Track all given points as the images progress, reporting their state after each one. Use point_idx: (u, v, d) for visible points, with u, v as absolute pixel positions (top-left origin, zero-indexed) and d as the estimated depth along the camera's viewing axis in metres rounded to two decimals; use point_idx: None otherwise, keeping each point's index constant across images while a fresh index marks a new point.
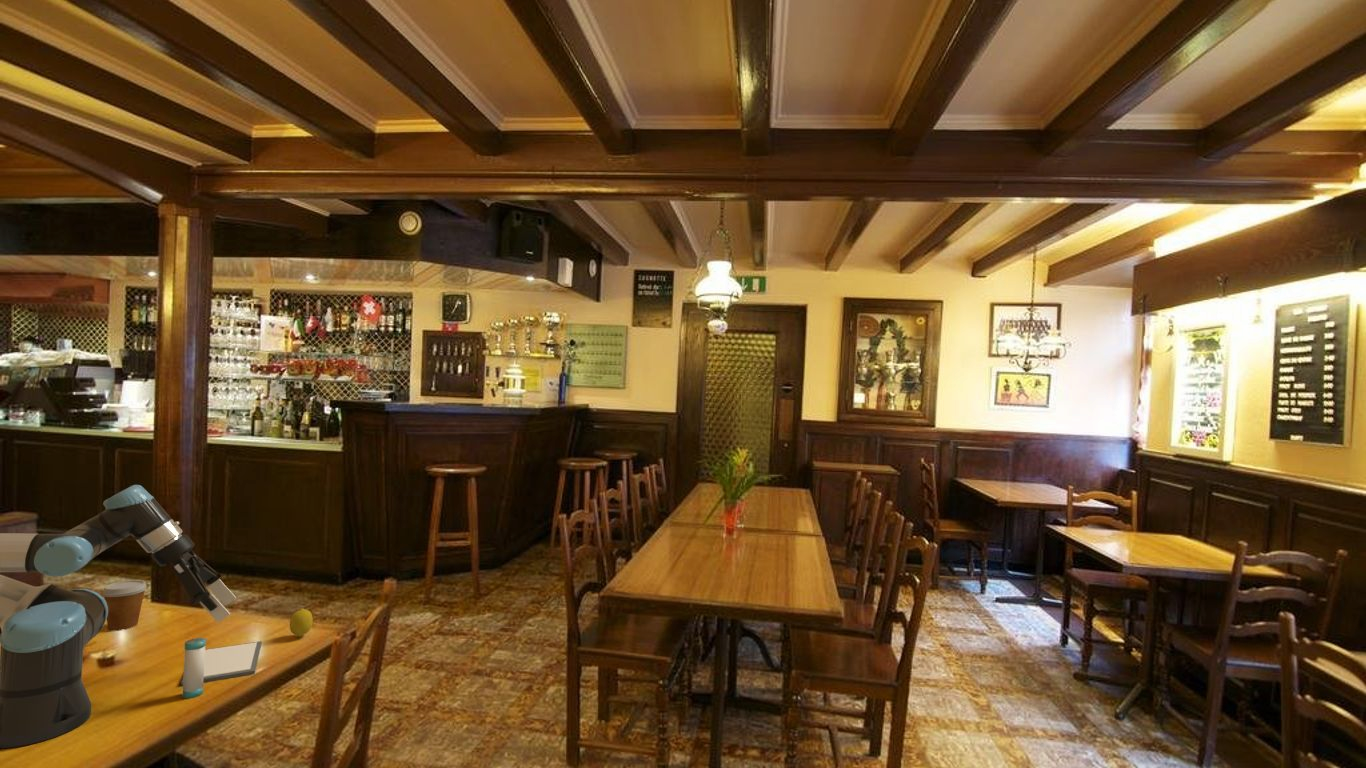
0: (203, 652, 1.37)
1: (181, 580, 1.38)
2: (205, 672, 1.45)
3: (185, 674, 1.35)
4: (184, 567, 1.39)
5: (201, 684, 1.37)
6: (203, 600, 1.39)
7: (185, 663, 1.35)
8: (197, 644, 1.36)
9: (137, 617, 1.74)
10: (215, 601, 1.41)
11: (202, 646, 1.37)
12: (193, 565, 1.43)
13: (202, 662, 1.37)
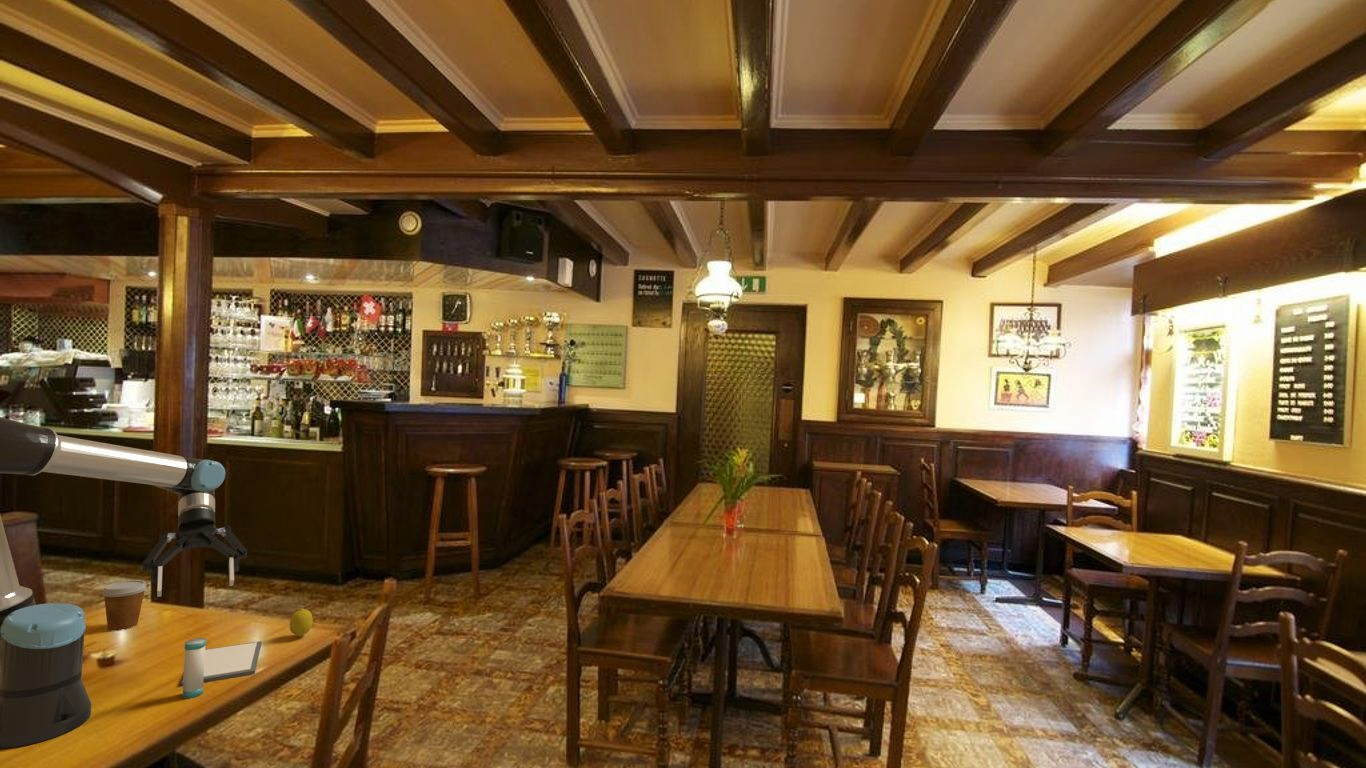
0: (203, 652, 1.37)
1: None
2: (205, 672, 1.45)
3: (185, 674, 1.35)
4: None
5: (201, 684, 1.37)
6: (239, 558, 1.54)
7: (185, 663, 1.35)
8: (197, 644, 1.36)
9: (137, 617, 1.74)
10: None
11: (202, 646, 1.37)
12: None
13: (202, 662, 1.37)
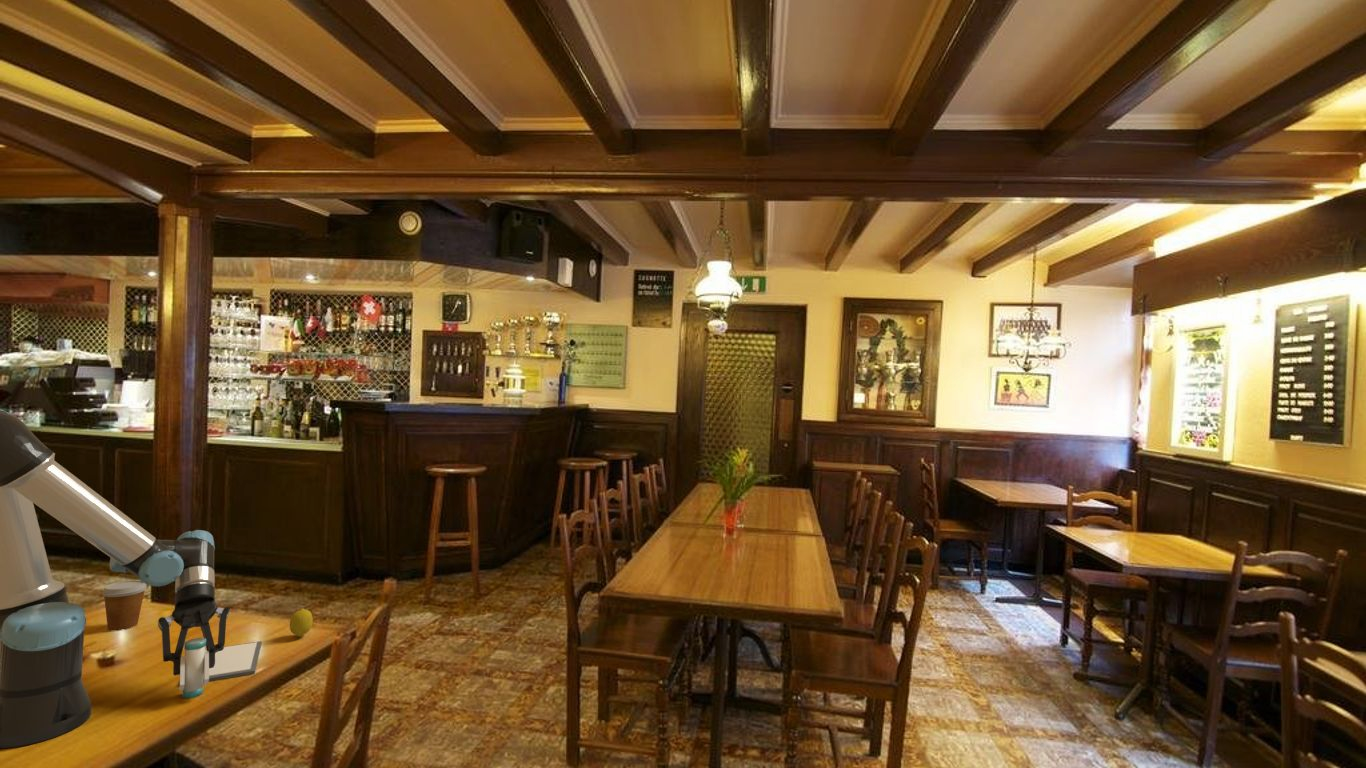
0: (203, 652, 1.37)
1: (225, 621, 1.44)
2: None
3: (185, 674, 1.35)
4: None
5: (201, 684, 1.37)
6: (215, 652, 1.40)
7: (185, 663, 1.35)
8: (197, 644, 1.36)
9: (137, 617, 1.74)
10: None
11: (202, 646, 1.37)
12: None
13: (202, 662, 1.37)
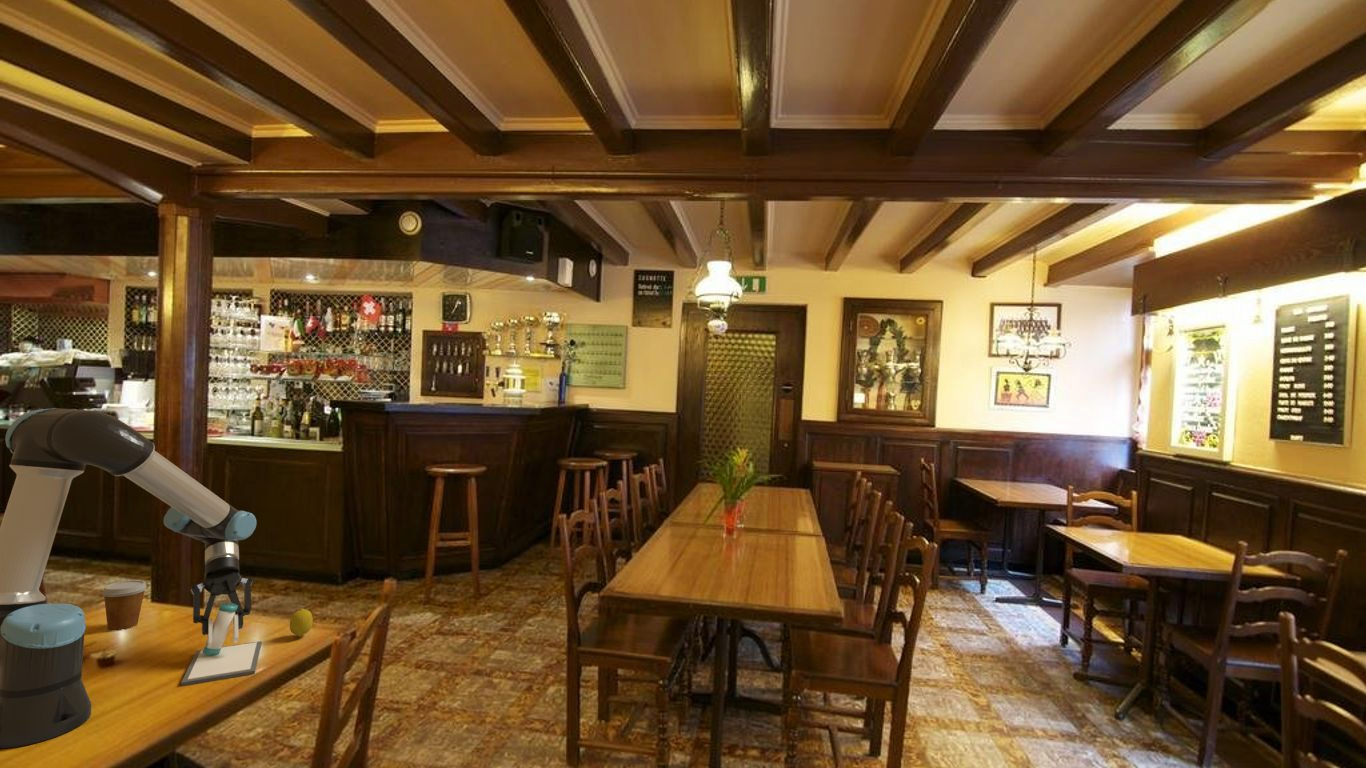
0: (232, 616, 1.57)
1: (250, 590, 1.64)
2: (205, 672, 1.45)
3: (212, 632, 1.54)
4: None
5: (221, 645, 1.55)
6: (243, 615, 1.60)
7: (215, 622, 1.55)
8: (231, 608, 1.56)
9: (137, 617, 1.74)
10: None
11: (233, 611, 1.57)
12: None
13: (228, 625, 1.56)
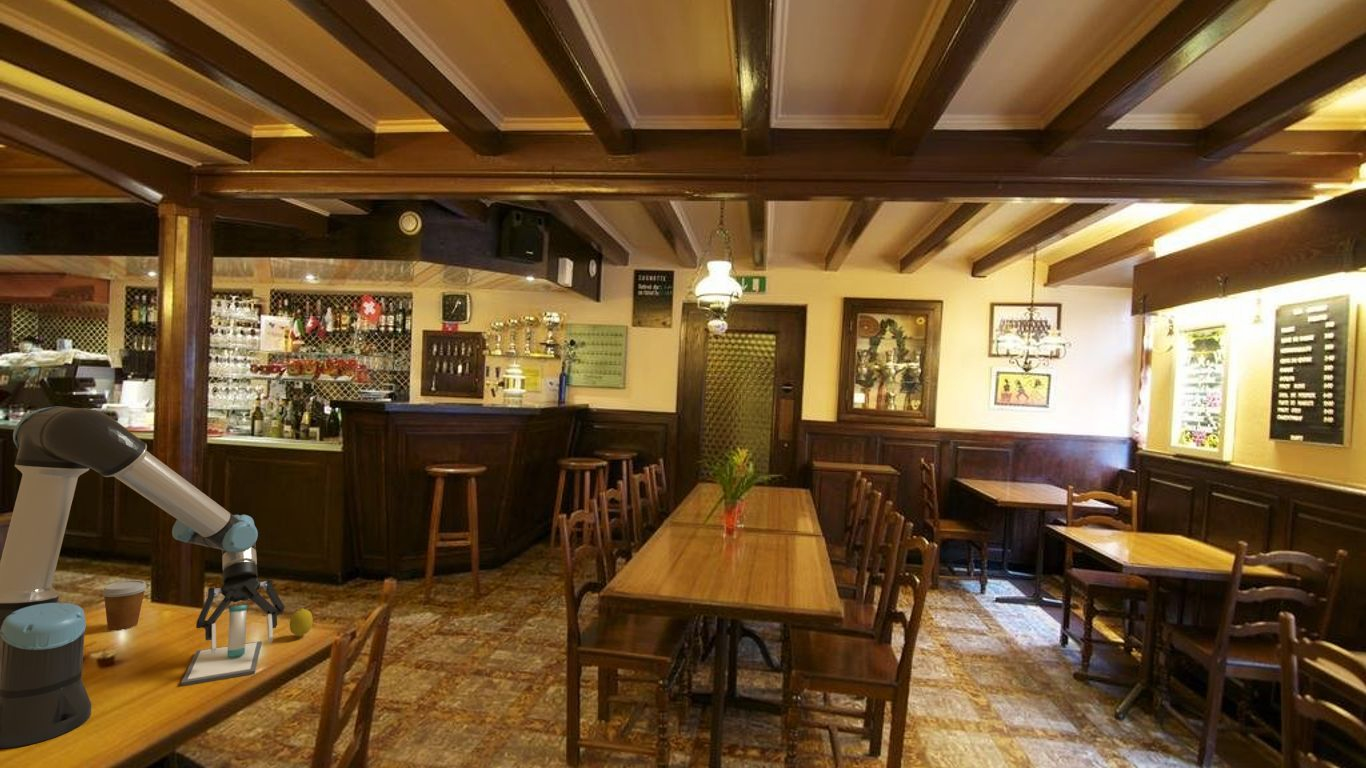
0: (246, 614, 1.57)
1: None
2: (205, 672, 1.45)
3: (233, 634, 1.54)
4: None
5: None
6: (276, 614, 1.59)
7: (233, 624, 1.54)
8: (244, 606, 1.56)
9: (137, 617, 1.74)
10: None
11: (246, 608, 1.57)
12: None
13: None
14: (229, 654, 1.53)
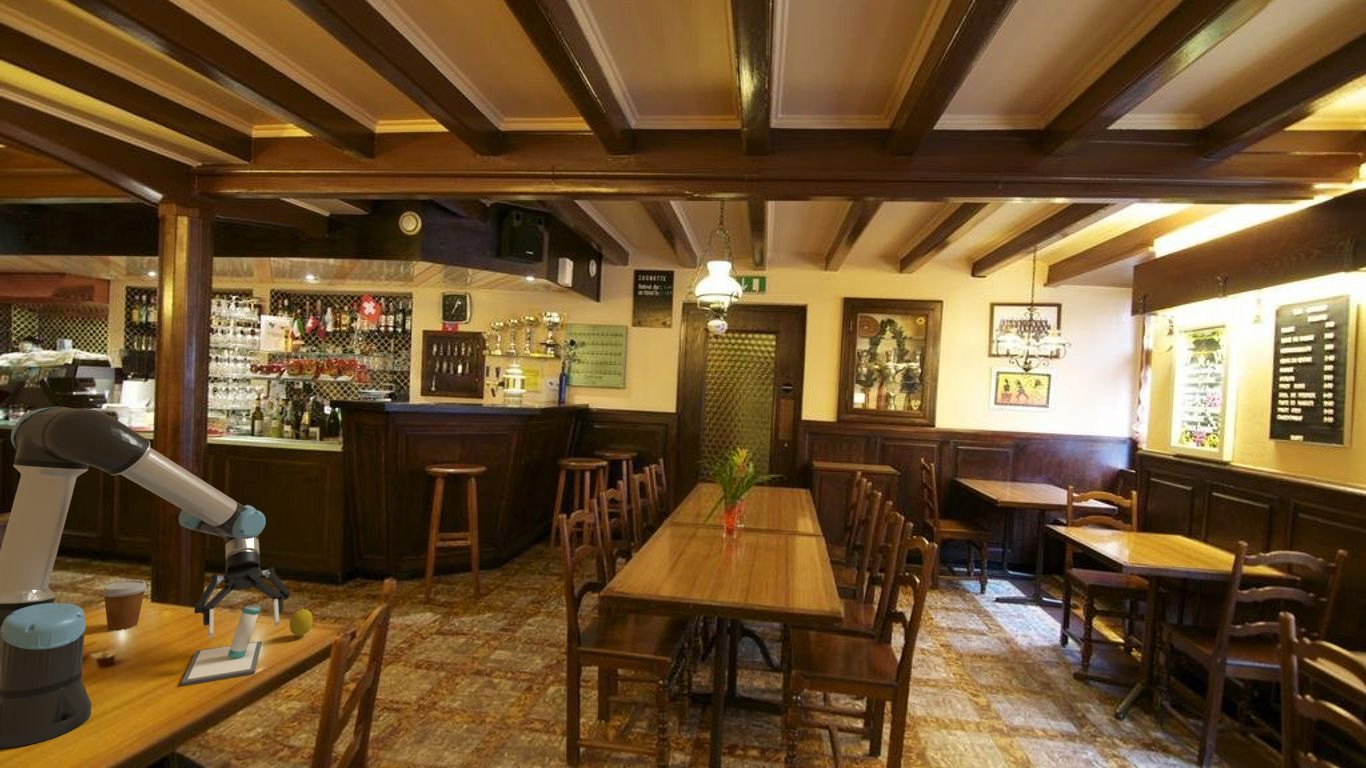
0: None
1: None
2: (205, 672, 1.45)
3: (240, 635, 1.53)
4: None
5: (247, 646, 1.55)
6: (282, 599, 1.63)
7: (242, 626, 1.54)
8: (258, 609, 1.56)
9: (137, 617, 1.74)
10: None
11: None
12: None
13: None
14: (230, 654, 1.53)
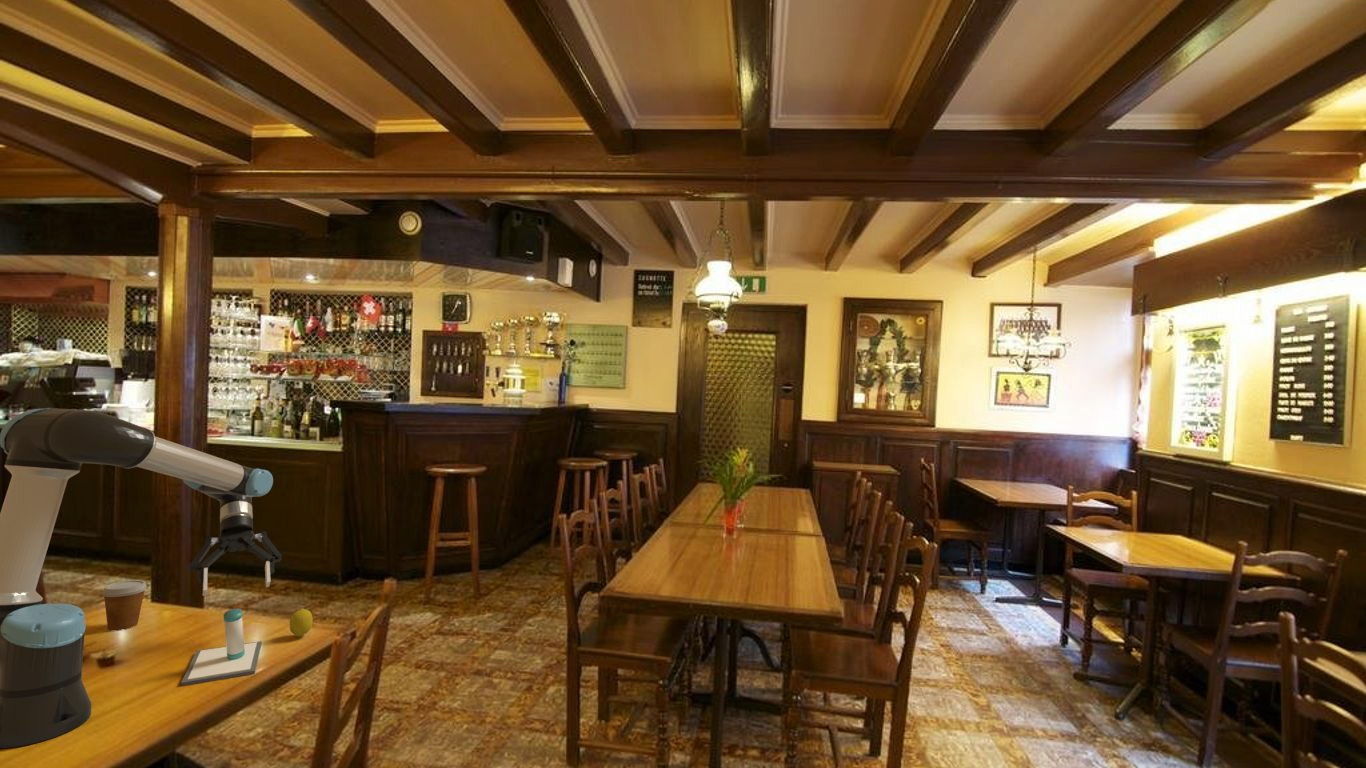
0: None
1: None
2: (205, 672, 1.45)
3: (231, 641, 1.51)
4: None
5: None
6: (274, 562, 1.70)
7: (230, 632, 1.51)
8: (239, 615, 1.51)
9: (137, 617, 1.74)
10: None
11: (242, 615, 1.53)
12: None
13: (242, 628, 1.54)
14: (229, 657, 1.52)
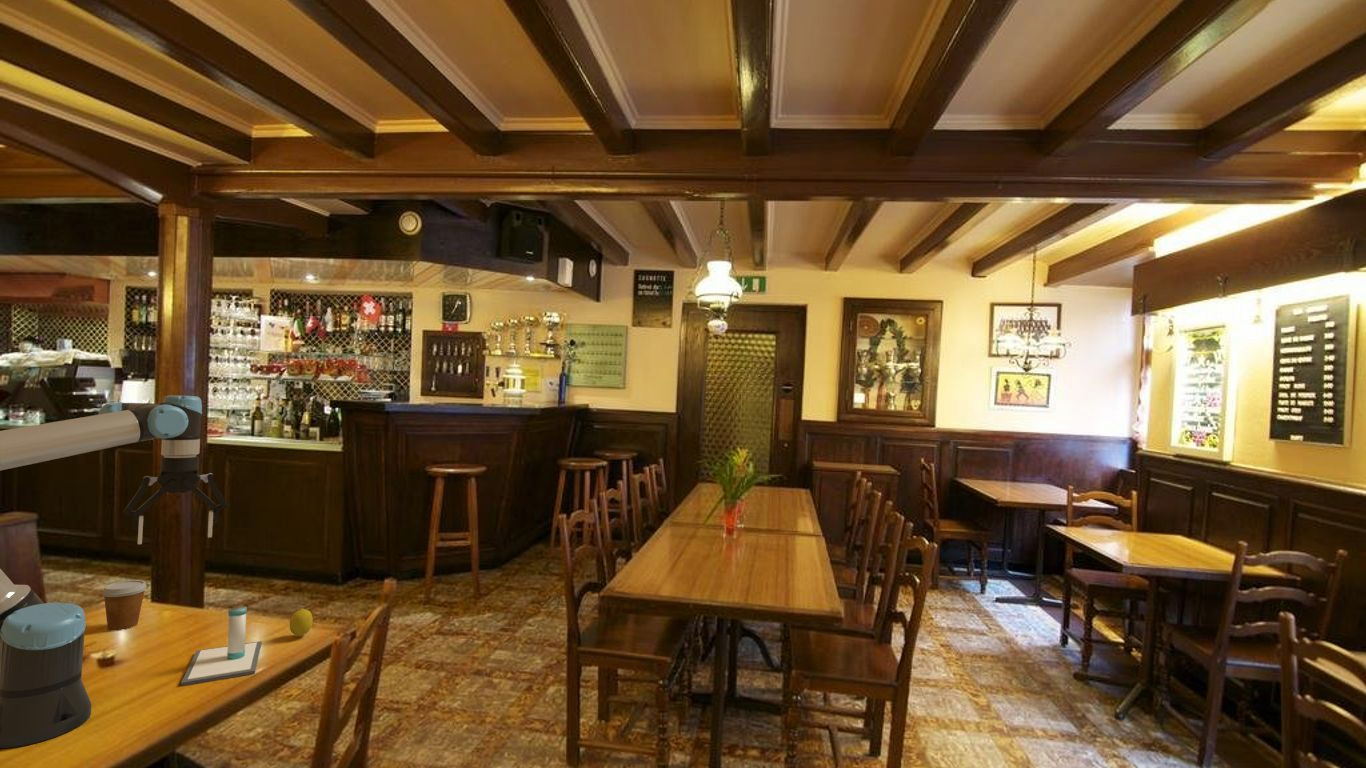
0: None
1: (216, 486, 1.58)
2: (205, 672, 1.45)
3: (234, 638, 1.53)
4: None
5: (244, 645, 1.55)
6: (219, 510, 1.59)
7: (234, 628, 1.53)
8: (245, 609, 1.55)
9: (137, 617, 1.74)
10: None
11: (246, 611, 1.56)
12: None
13: (245, 626, 1.56)
14: (230, 657, 1.52)
